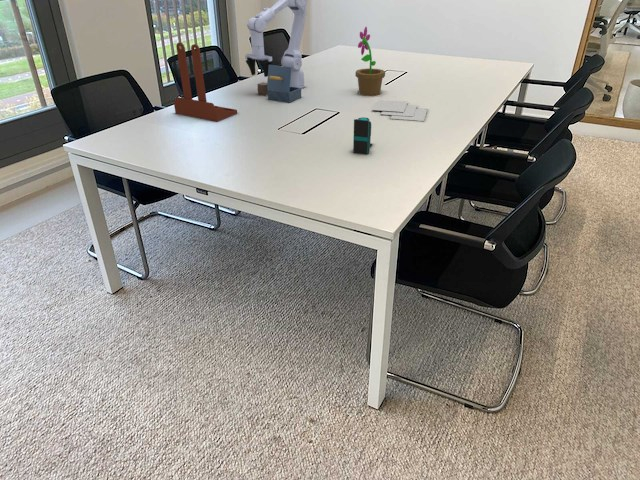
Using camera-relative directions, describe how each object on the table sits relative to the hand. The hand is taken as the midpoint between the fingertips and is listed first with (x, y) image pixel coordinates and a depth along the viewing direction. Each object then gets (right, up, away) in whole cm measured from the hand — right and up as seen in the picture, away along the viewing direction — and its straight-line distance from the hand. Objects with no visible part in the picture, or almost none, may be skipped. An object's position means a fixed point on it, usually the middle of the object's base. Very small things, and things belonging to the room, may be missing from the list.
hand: (259, 75), depth 238 cm
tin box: (+12, -11, -1) cm, 16 cm away
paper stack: (+64, -22, -20) cm, 71 cm away
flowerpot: (+53, -7, +6) cm, 54 cm away
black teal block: (+45, -46, -59) cm, 88 cm away
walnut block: (+1, -7, +6) cm, 10 cm away
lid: (+10, -4, -9) cm, 14 cm away
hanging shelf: (-21, -24, -20) cm, 38 cm away
